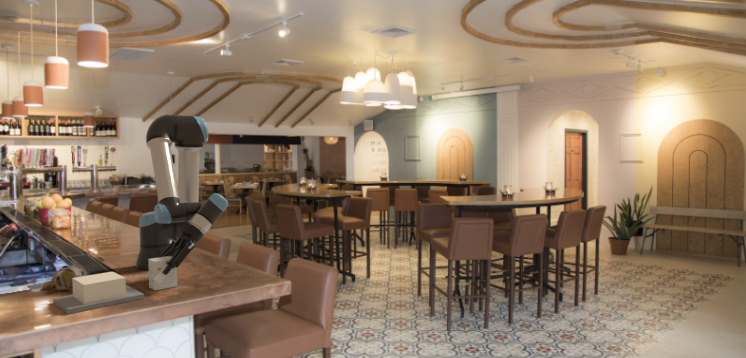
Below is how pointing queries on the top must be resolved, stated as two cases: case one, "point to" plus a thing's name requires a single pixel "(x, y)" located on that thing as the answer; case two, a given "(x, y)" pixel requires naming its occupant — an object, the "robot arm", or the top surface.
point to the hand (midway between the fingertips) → (152, 279)
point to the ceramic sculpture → (62, 279)
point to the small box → (154, 269)
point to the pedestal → (97, 293)
